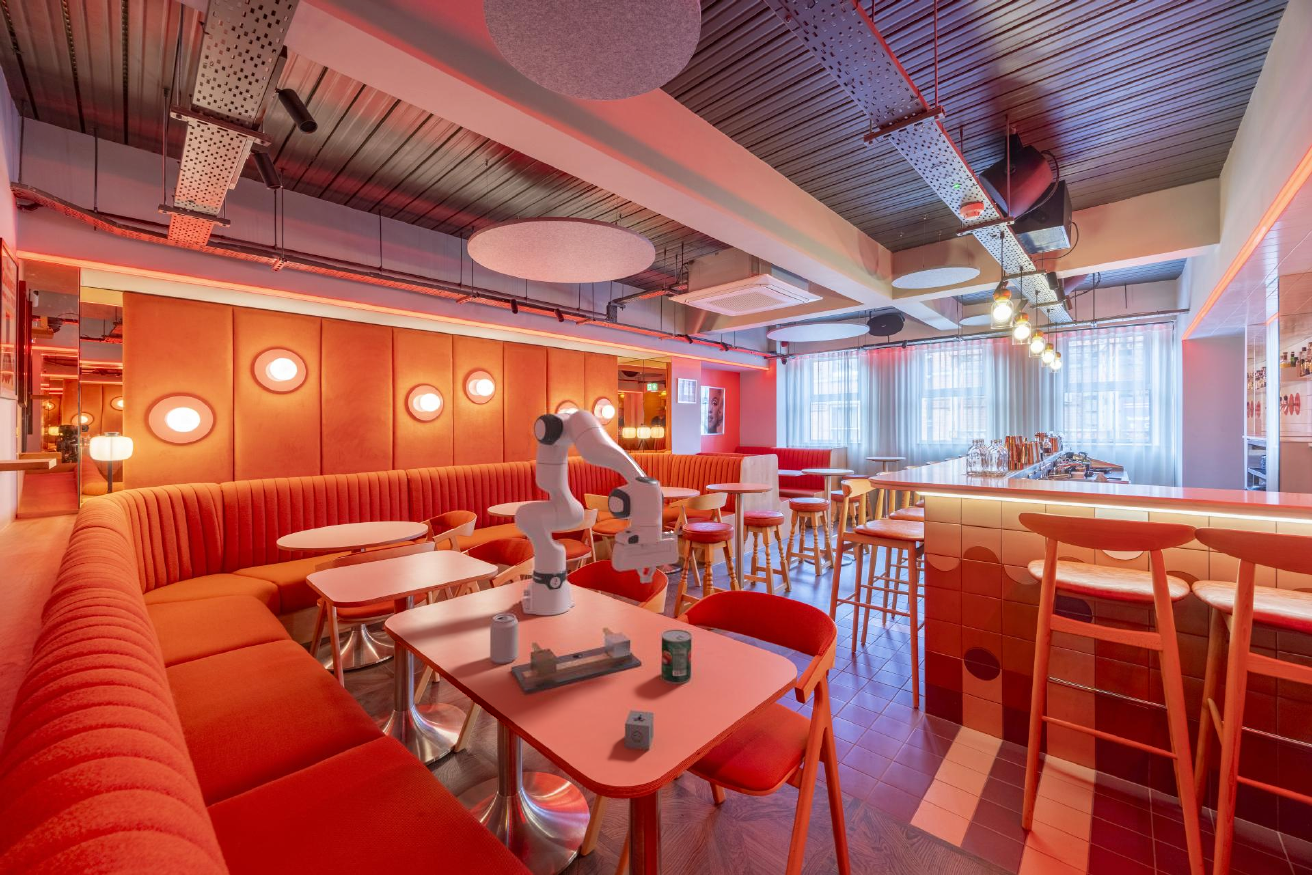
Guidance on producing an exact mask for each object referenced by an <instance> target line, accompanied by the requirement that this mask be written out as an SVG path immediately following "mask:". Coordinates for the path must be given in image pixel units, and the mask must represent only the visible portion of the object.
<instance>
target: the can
mask: <svg viewBox="0 0 1312 875" xmlns="http://www.w3.org/2000/svg"><path fill="white" fill-rule="evenodd" d="M489 628H490V629H489V630H490V632H489V633H490V635H489V636H490V637H489V638H490V639H489V640H490V642H489V643H490V644H489V647H490V648H489V655H490V656H489V658H490V660H491V661H492V662H493V663H495V664H498V665H500V664H501V665H504V664H509V663H511V662H513V661H515V659H517V658H518V655H519V621H518V619H517V616H516V615H515V614H513V613H500V614H497V615H495V616H493V617H492V621H491V622H490V626H489Z"/></svg>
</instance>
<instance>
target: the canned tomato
mask: <svg viewBox="0 0 1312 875" xmlns="http://www.w3.org/2000/svg"><path fill="white" fill-rule="evenodd" d="M692 636H693V635H692V633H691V632H689V631H687V630H683V629H668V630H666V631H663V632H662V633H661V668H660V670H661V674H660V675H661V676H660V677H661V680H663V681H664V682H666V683H668V684H673V685H678V684H679V685H680V684H686V683H687V682H689V681H690V680H691V679H692V643H693V642H692Z"/></svg>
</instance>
